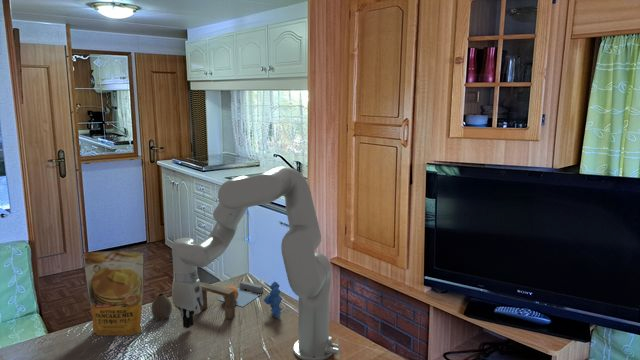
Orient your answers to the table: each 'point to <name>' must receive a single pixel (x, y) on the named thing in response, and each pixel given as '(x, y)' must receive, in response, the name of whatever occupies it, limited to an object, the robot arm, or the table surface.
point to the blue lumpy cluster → (274, 299)
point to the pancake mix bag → (115, 291)
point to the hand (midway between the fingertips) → (188, 326)
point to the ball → (234, 292)
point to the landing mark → (243, 298)
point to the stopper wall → (251, 286)
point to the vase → (161, 307)
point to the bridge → (221, 291)
